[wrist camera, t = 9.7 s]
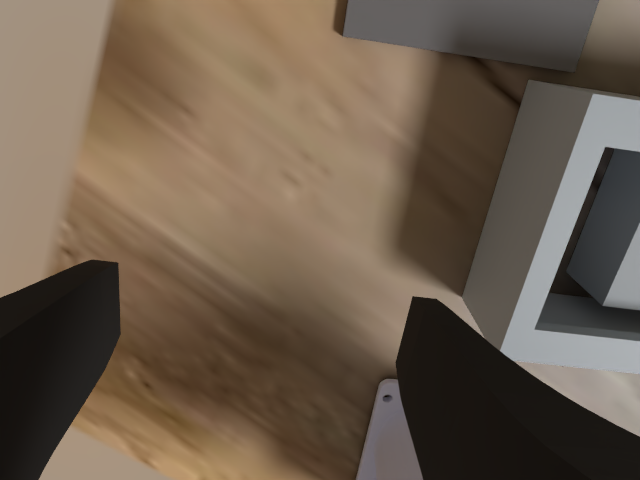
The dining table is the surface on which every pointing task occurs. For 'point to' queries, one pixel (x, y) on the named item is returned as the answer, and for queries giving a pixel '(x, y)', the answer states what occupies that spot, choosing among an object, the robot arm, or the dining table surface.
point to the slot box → (563, 234)
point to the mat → (479, 28)
